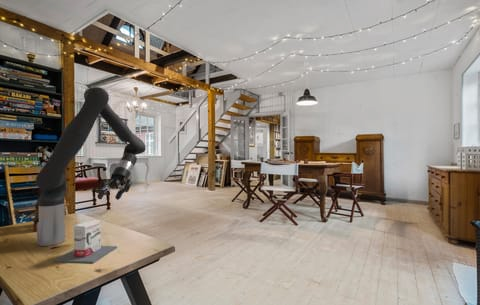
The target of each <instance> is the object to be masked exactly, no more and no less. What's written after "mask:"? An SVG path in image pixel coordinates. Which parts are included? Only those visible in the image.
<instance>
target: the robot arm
mask: <svg viewBox="0 0 480 305" xmlns="http://www.w3.org/2000/svg"><path fill="white" fill-rule="evenodd" d="M83 99H84V102H83V103H82V106H81V107H80V110H79V111H78V112H77V114H76V115H75V116H74V117H73V118H72V119H71V120H70V121H69V123H68V124H67V125H66V126H65V128H64V130H63V131H62V134H61V136H60V137H59V140H58V141H57V143H56V145H55V146H54V148H53V151H52V153H51V155H50V157H49V159H48V160H47V161H46V163H45V164H44V165H43V167H42V168H41V170H40V171H39V172H38V173H37V175H36V177H35V184H36V186H37V188H38V189H39V190H40V189H41V196H40V198H39V201H38V205H39V222H38V223H37V232H36V245H38V246H40V247H49V246H54V245H59V244H61V243H63V242H65V241H66V209H65V208H66V207H65V205H66V204H65V201H66V200H65V199H66V195H67V191H66V189H67V179H66V174H65V172H66V170H67V168H68V166H69V164H70V163H71V161H72V160H73V159H74V158H75V157H76V155H77V154H78V153H79V152H80V150H82V148H83V146H84V144H85V142H86V140H87V139H88V137H89V135H90V134H91V131H92V129H93V127H94V125H95V122H96V121H97V119H98V117H99V115H100V117H101V118H102V119H103V120H104V121H105V123H107V124H106V125H108V126H109V128H110V129H111V130H112V132H113V133H114V134H115V135H116V137H118V139H119V140H120V141H121V142H123V143H127V144H126V145H125V147H124V150H123V154H122V157H121V159H120V160H119V162H118V163H117V164H116V166H115V168H114V170H113V171H112V173H111V175H110V179H106V178H103V179H102V180H101V182H100V184H99V185H98V186H97V188H96V189H97V190H98V191H99V192H98V194H97V199H98V200H102V199H103V197H104V196H105V194H106V192H108V191H111V190H118V191H117V193H116V194H115V197H114V198H115V199H116V200H117V201H119V200H120V199H121V197H122V195H123V194H124V193H128V192H129V190H130V188H131V186H132V184H133V182H132V180H131V179H130V176H131V175H132V172H133V170H134V167H135V165H136V163H137V160H138V158H137V156H136V155H139V154H144V152H146V147H147V146H146V144H145V142H144V141H143V140H142V139H141V138H140V137H138V136H137V135H136V134H135V133H133V132H132V130H131V129H130V128H129V126H128V125H127V124H126V123H125V121H124V120H123V119H122V118H120V116H119V115H118V114H117V113H115V111H114V110H113V109H112V107H111V106H110V104H109V101H110V100H109V99H110V96H109V93H108V91H107V90H106V89H105V88H103V87H100V86H99V87H98V86H94V87H92V86H91V87H89V88H87V89H85V91H84V93H83ZM123 186H124V187H123Z"/></svg>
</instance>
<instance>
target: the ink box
mask: <svg viewBox="0 0 480 305" xmlns="http://www.w3.org/2000/svg"><path fill="white" fill-rule="evenodd" d="M101 230H102V229H101V220H95V219H89V220H85V221H84V222H80V223H78V224H76V225H74V226H73V248H74V249H73V250H74V256H77V257H86V256H88V255H90V254H91V253H93V252H95V251H97V250H99V249H101V246H102V245H101V244H102V242H101V241H102V240H101V238H102V237H101V236H102V235H101V233H102V232H101Z"/></svg>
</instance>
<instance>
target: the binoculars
mask: <svg viewBox="0 0 480 305" xmlns="http://www.w3.org/2000/svg"><path fill="white" fill-rule="evenodd" d="M37 196H38V198H37V200H36V202H35V205H34V207H35V209H34V216H33V217H34V218H33V222H32V223H33V227H32V232H34V233H37V223H38V222H39V205H38V201H39V198H40V196H41V189H40V188H39V191H38V194H37Z"/></svg>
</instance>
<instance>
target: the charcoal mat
mask: <svg viewBox="0 0 480 305" xmlns="http://www.w3.org/2000/svg"><path fill="white" fill-rule="evenodd" d="M117 248H118V246H117V245H101V249H99V250H97V251H95V252H93V253H91V254H90V255H88V256H86V257H77V256H74V249H72V250H70V251H68V252H66V253H64V254H62V255H60V256H59V257H56V258H55V259H53V260H52V262H54V263H55V262H56V263H57V262H58V263H75V264H95V263H96V262H98V261H99V260H101V259H102V258H104V257H106V256H107V255H108V254H110V253H111V252H113V251H114V250H116V249H117Z"/></svg>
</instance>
